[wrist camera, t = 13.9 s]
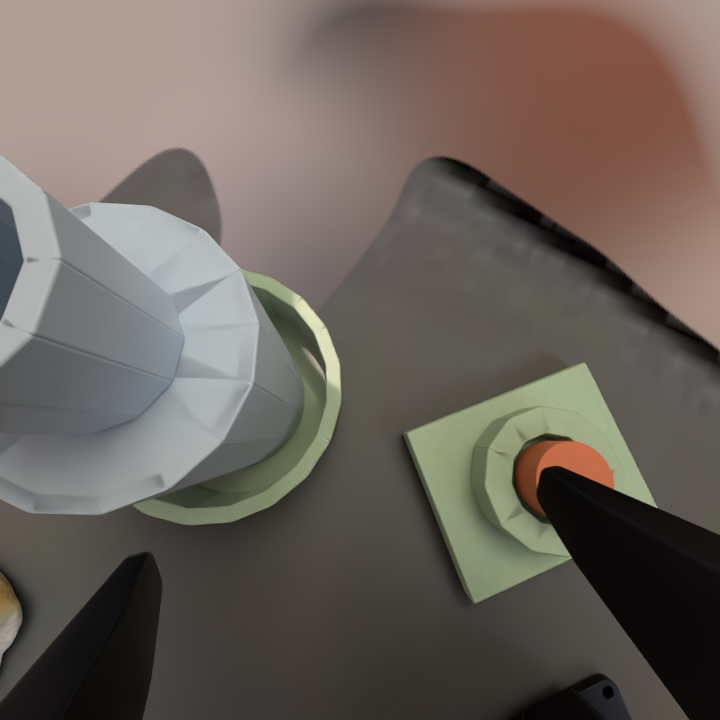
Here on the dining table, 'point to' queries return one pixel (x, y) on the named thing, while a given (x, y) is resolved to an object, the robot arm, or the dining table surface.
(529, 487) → the button
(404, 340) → the dining table surface
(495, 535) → the panel
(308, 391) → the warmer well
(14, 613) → the pastry
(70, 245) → the bottle
